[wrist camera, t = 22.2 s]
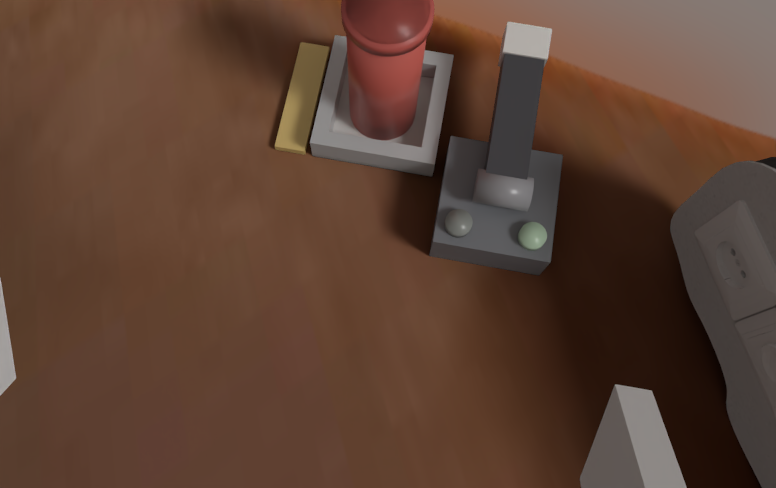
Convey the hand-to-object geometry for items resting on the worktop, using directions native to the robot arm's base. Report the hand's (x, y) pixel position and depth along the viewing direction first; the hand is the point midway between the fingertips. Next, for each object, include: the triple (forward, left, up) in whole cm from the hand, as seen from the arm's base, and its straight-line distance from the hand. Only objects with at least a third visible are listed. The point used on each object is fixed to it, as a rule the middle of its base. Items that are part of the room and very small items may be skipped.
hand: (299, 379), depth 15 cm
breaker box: (-2, +16, -27) cm, 31 cm away
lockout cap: (-12, +17, -26) cm, 33 cm away
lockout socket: (-13, +16, -27) cm, 34 cm away
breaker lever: (-2, +16, -22) cm, 28 cm away
